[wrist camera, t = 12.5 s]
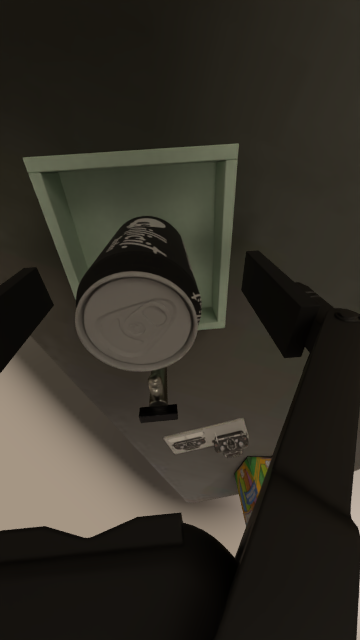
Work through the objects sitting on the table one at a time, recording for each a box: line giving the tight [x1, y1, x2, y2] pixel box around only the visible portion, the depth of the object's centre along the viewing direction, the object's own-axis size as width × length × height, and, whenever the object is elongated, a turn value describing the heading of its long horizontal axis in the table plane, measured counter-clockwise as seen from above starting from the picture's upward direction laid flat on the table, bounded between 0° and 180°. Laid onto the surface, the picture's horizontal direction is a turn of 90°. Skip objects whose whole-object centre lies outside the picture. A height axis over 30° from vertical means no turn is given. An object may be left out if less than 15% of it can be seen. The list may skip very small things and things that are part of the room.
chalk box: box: [235, 457, 272, 526], centre depth 44 cm, size 9×9×15 cm
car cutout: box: [163, 418, 249, 458], centre depth 39 cm, size 15×7×4 cm, turn 108°
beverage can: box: [75, 216, 202, 372], centre depth 15 cm, size 7×7×12 cm
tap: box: [139, 366, 178, 423], centre depth 20 cm, size 4×3×12 cm
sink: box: [23, 144, 239, 330], centre depth 19 cm, size 15×14×4 cm
